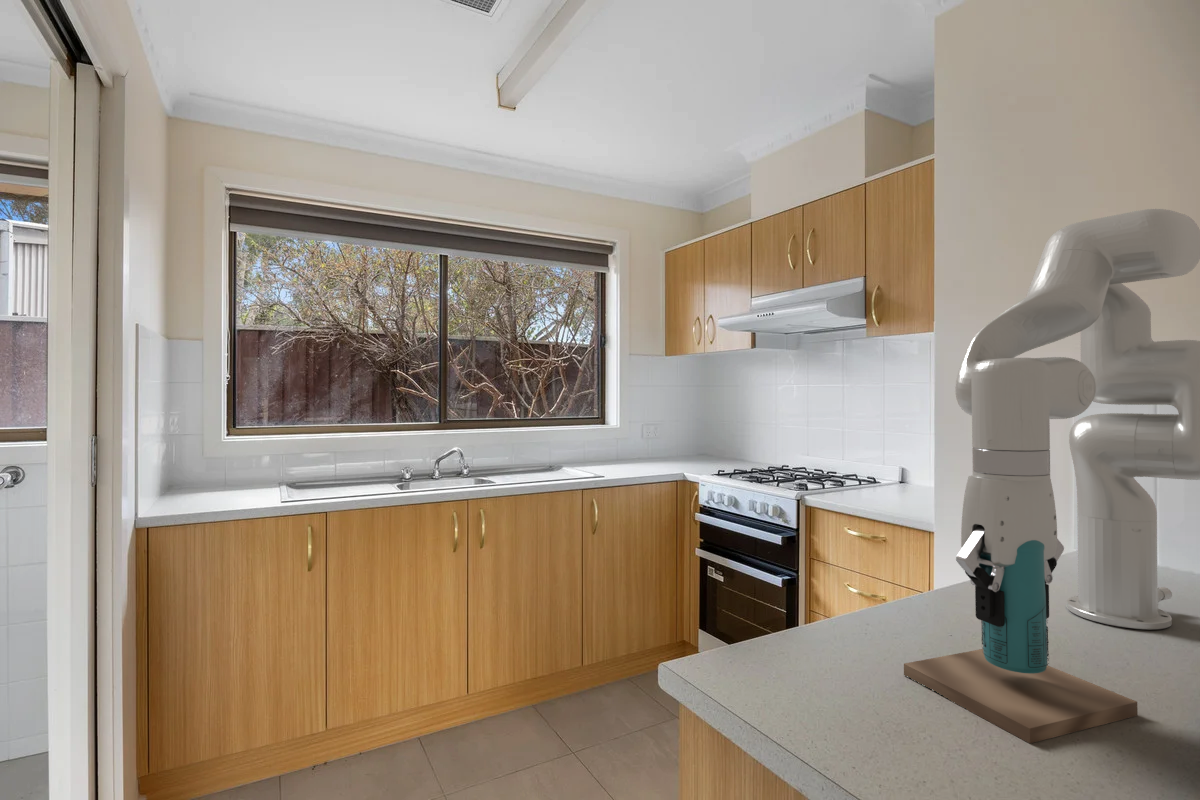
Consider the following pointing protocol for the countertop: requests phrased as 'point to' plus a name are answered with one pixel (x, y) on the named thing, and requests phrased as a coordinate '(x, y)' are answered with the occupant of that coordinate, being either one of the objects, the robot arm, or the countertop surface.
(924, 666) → the walnut board
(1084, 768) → the countertop surface
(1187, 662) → the countertop surface
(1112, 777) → the countertop surface
